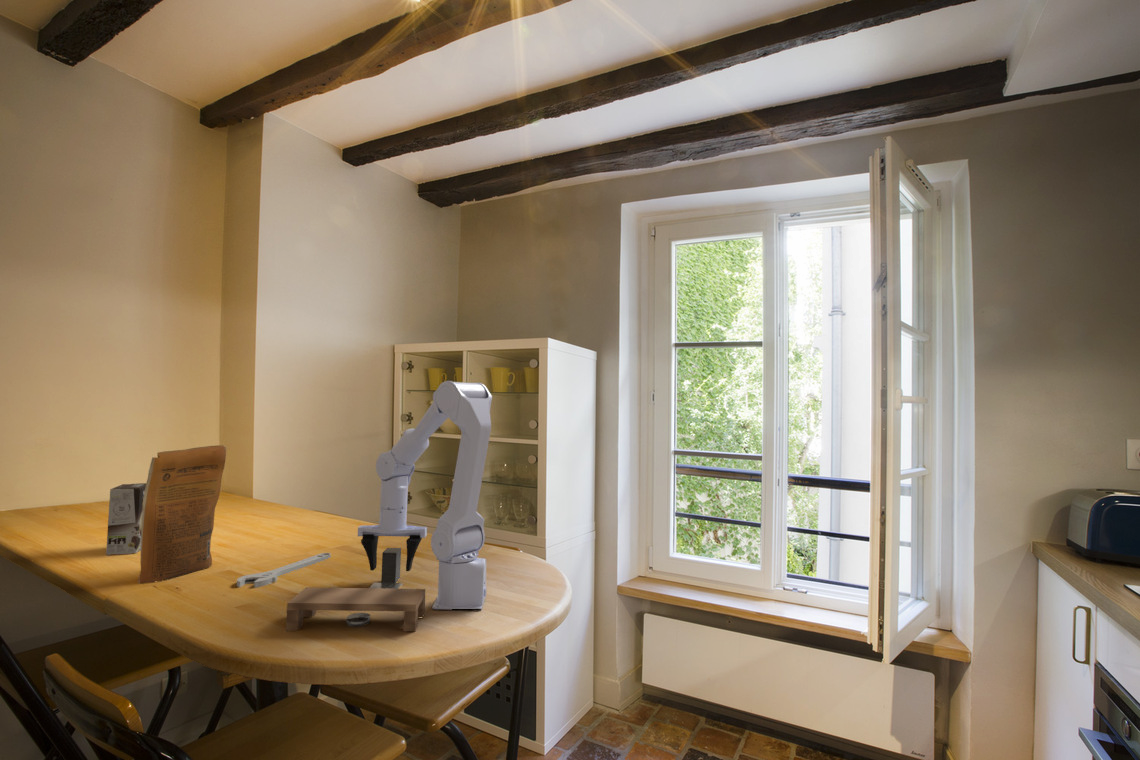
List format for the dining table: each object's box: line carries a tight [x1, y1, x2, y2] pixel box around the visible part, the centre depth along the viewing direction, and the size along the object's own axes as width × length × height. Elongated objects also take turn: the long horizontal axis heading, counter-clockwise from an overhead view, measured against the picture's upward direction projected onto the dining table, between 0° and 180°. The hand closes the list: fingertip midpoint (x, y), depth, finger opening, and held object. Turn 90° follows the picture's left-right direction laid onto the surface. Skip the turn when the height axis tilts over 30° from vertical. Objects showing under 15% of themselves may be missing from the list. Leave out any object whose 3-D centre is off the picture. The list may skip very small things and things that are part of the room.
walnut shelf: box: [285, 586, 426, 633], centre depth 102 cm, size 22×8×5 cm, turn 93°
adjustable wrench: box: [236, 552, 332, 588], centre depth 130 cm, size 25×6×2 cm, turn 158°
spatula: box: [369, 547, 403, 589], centre depth 117 cm, size 6×18×7 cm, turn 3°
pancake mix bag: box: [137, 444, 227, 584], centre depth 126 cm, size 7×19×28 cm, turn 159°
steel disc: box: [345, 612, 371, 628], centre depth 102 cm, size 4×4×1 cm
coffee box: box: [105, 482, 147, 556], centre depth 143 cm, size 9×6×16 cm
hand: (391, 569), depth 124 cm, fingers open, 7 cm apart
